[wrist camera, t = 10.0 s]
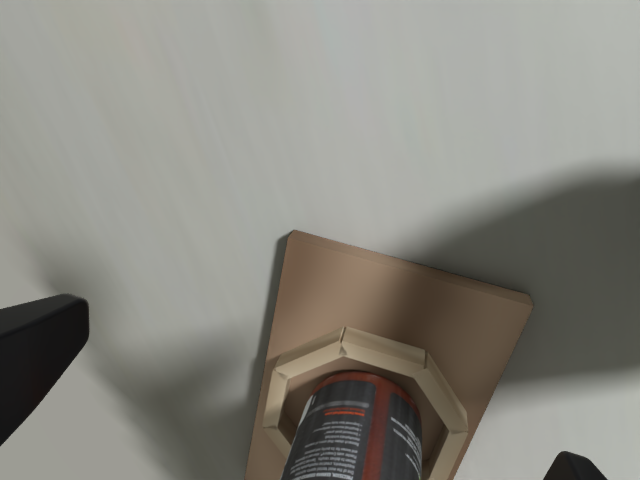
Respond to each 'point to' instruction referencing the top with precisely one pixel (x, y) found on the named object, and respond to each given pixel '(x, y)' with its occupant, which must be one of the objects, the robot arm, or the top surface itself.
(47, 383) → the robot arm
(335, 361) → the wooden board with rim
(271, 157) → the top surface
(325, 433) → the supplement bottle
